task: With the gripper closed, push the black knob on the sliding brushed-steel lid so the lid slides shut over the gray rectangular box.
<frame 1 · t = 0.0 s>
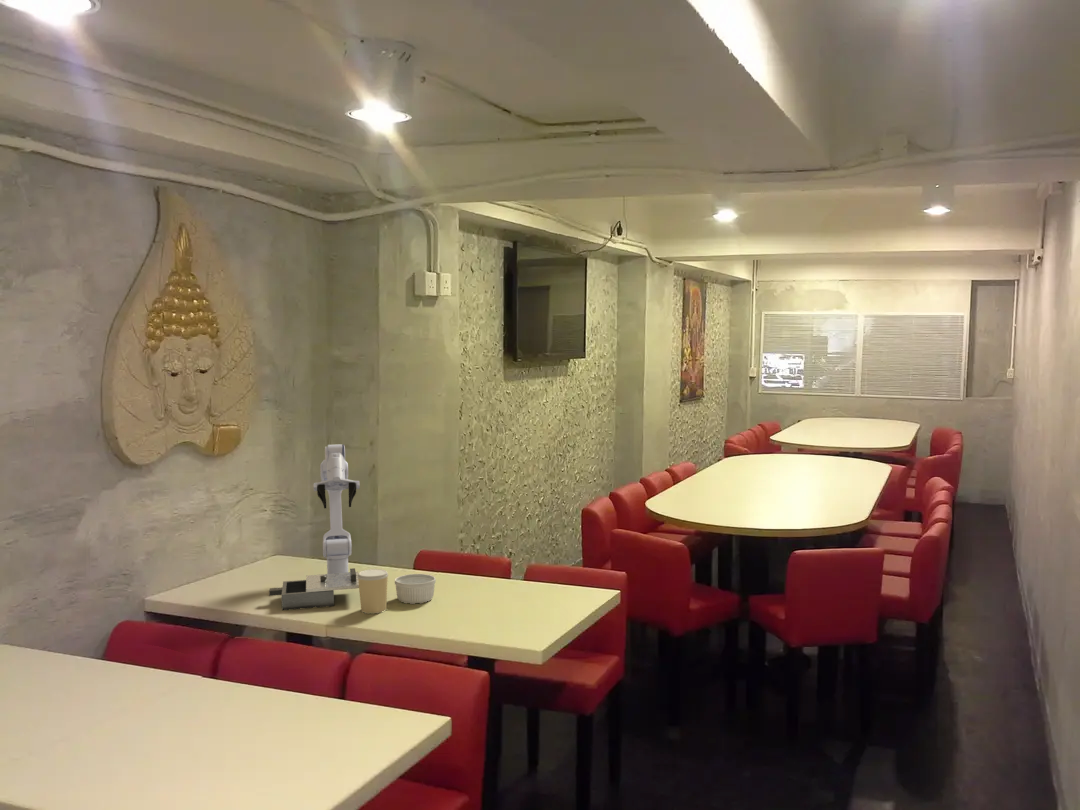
hand: (337, 505, 277), 32 cm above the table, tool tilted 50°, fingers open, 7 cm apart
ramekin: (415, 600, 285), on the table
gray rectangular box: (308, 601, 284), on the table
lid: (332, 578, 286), point 7 cm above the table, slide at 8.0 cm
coffee cup: (373, 610, 274), on the table
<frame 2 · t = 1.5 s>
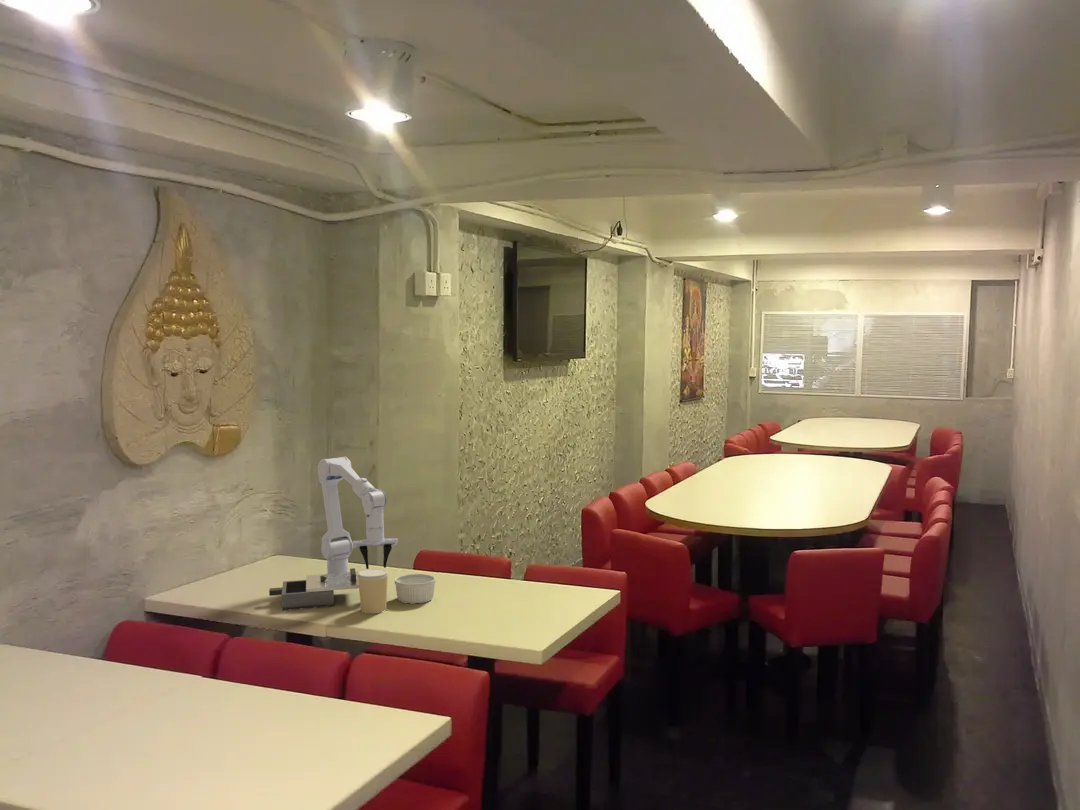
hand: (376, 567, 289), 9 cm above the table, tool pointing down, fingers open, 5 cm apart
nothing on the table moved.
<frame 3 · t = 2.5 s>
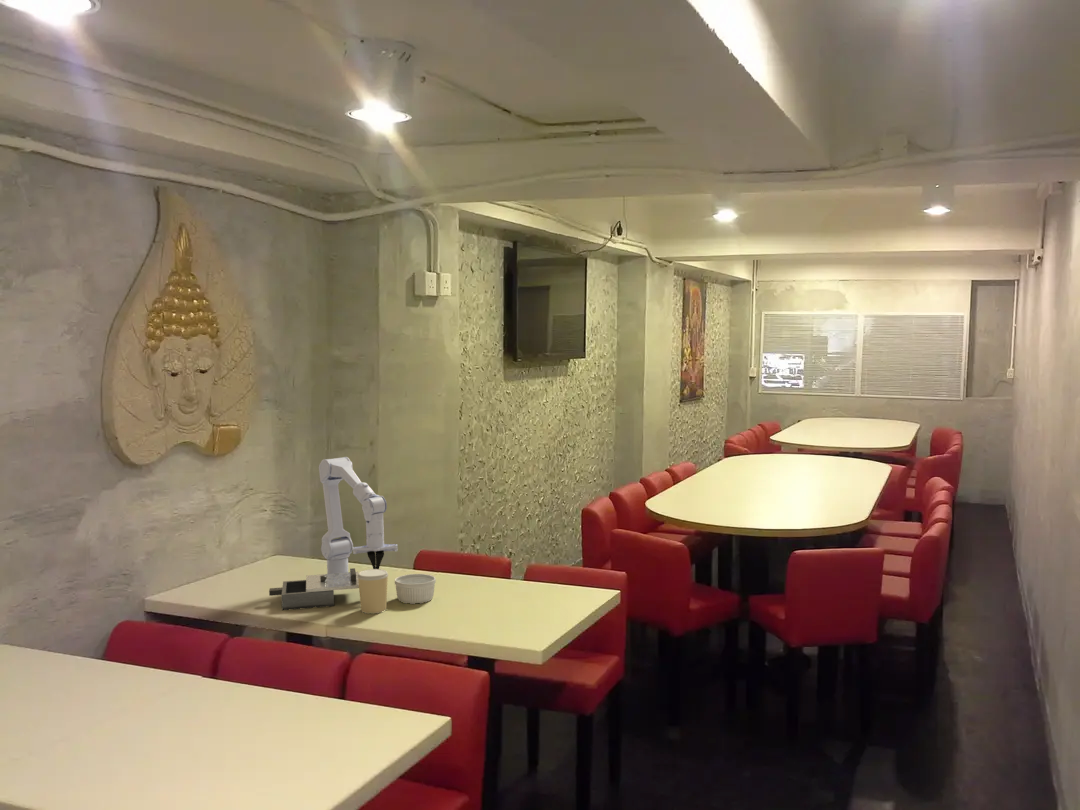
hand: (376, 573, 289), 7 cm above the table, tool pointing down, fingers closed
nothing on the table moved.
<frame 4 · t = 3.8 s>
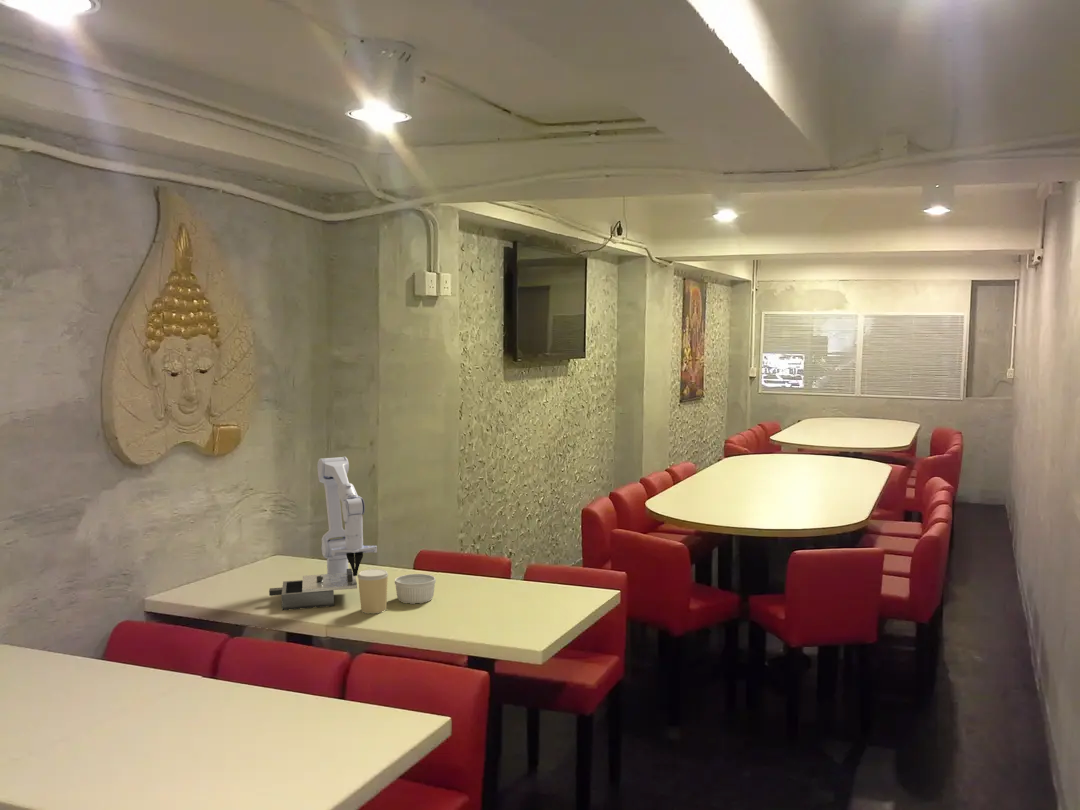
hand: (355, 575, 288), 7 cm above the table, tool pointing down, fingers closed
lid: (329, 578, 286), point 7 cm above the table, slide at 6.8 cm, touching gripper
everything else where it was.
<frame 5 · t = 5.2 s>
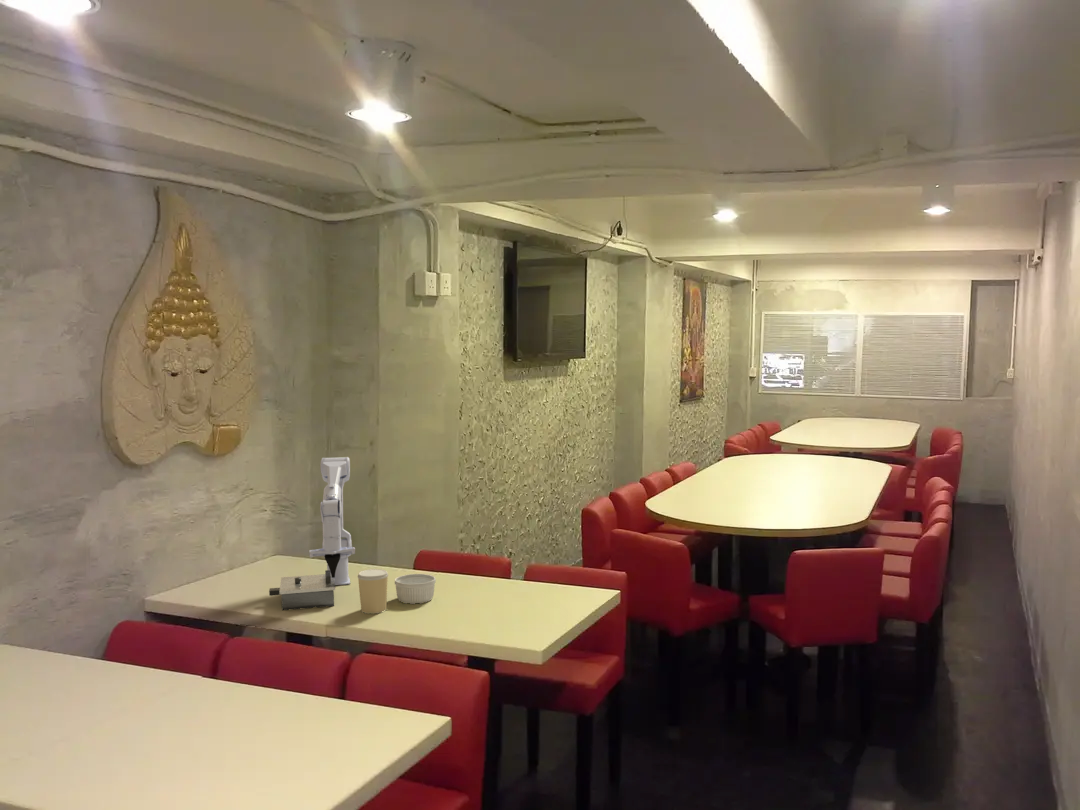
hand: (333, 576, 286), 7 cm above the table, tool pointing down, fingers closed
lid: (307, 580, 284), point 7 cm above the table, slide at -0.1 cm, touching gripper
everything else where it was.
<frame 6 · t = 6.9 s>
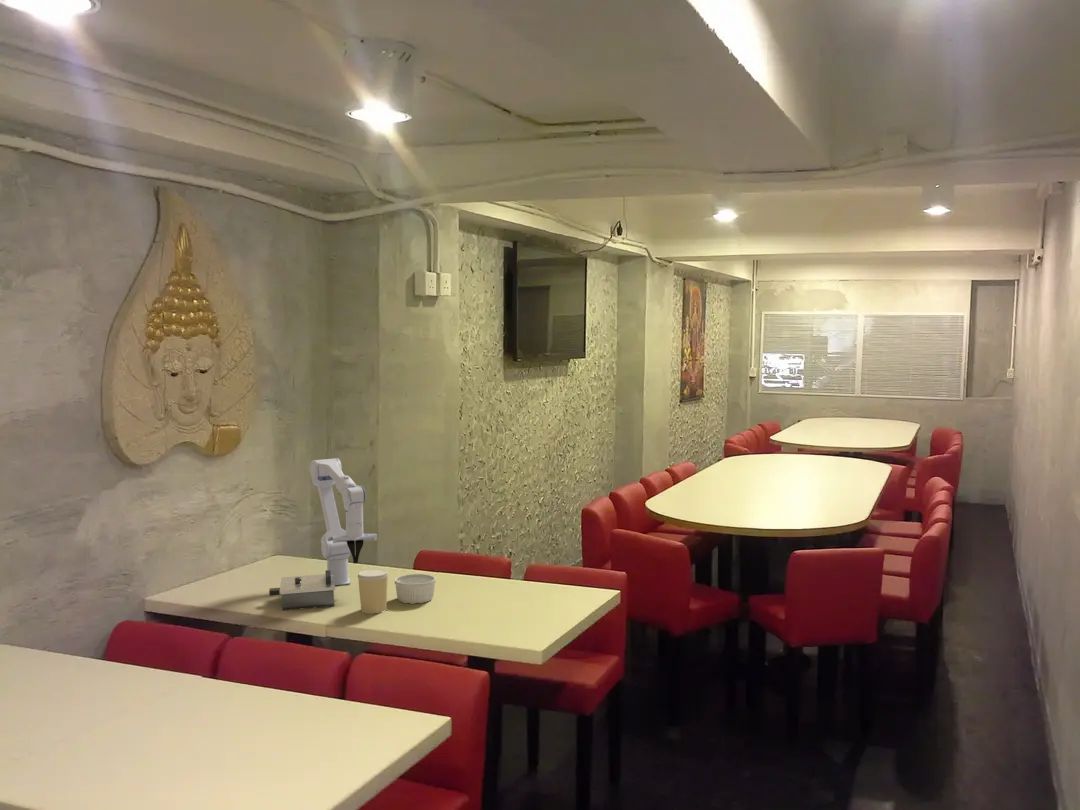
hand: (355, 562, 293), 10 cm above the table, tool pointing down, fingers closed
lid: (307, 580, 284), point 7 cm above the table, slide at 0.0 cm
everything else where it was.
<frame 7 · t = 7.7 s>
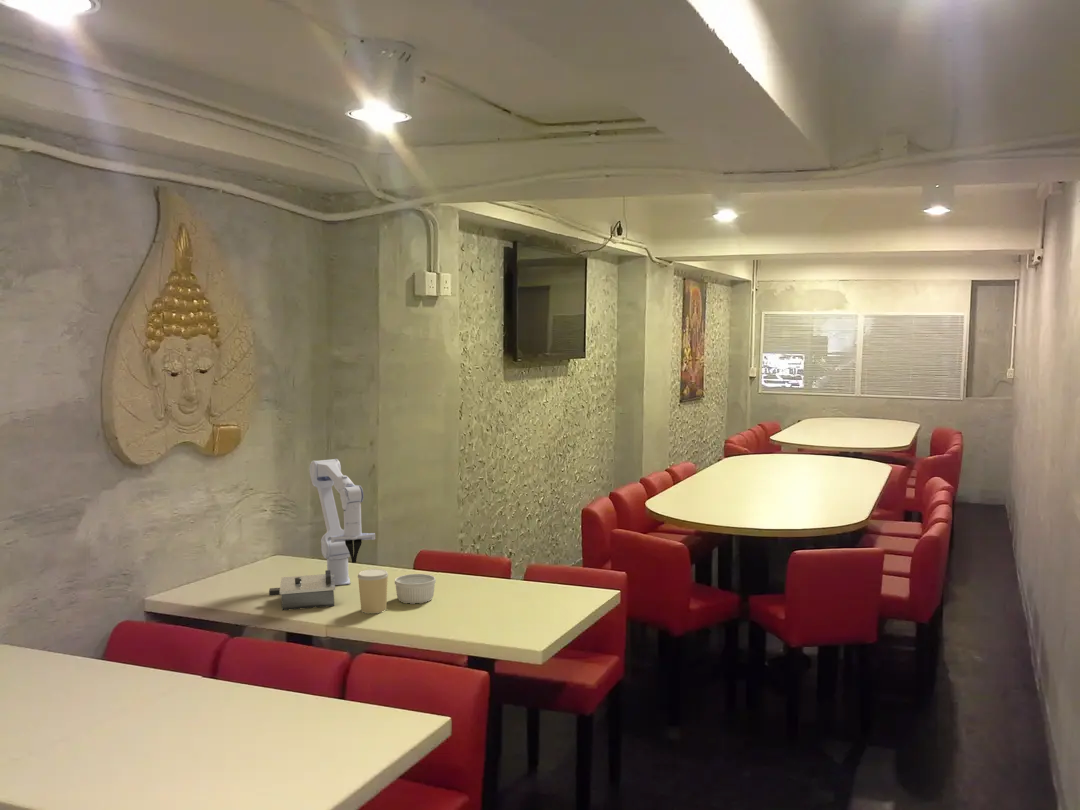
hand: (353, 562, 293), 10 cm above the table, tool pointing down, fingers closed
nothing on the table moved.
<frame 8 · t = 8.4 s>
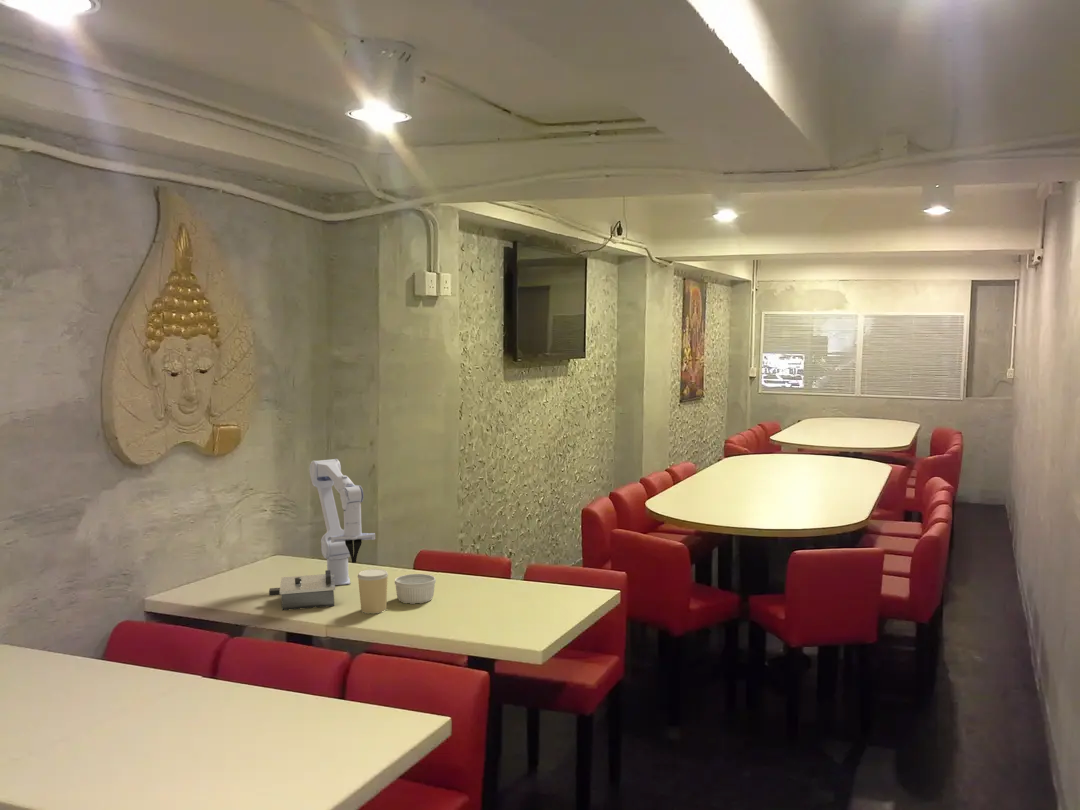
hand: (353, 562, 293), 10 cm above the table, tool pointing down, fingers closed
nothing on the table moved.
at the end: lid slide at 0.0 cm; coffee cup moved 0.2 cm from its start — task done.
